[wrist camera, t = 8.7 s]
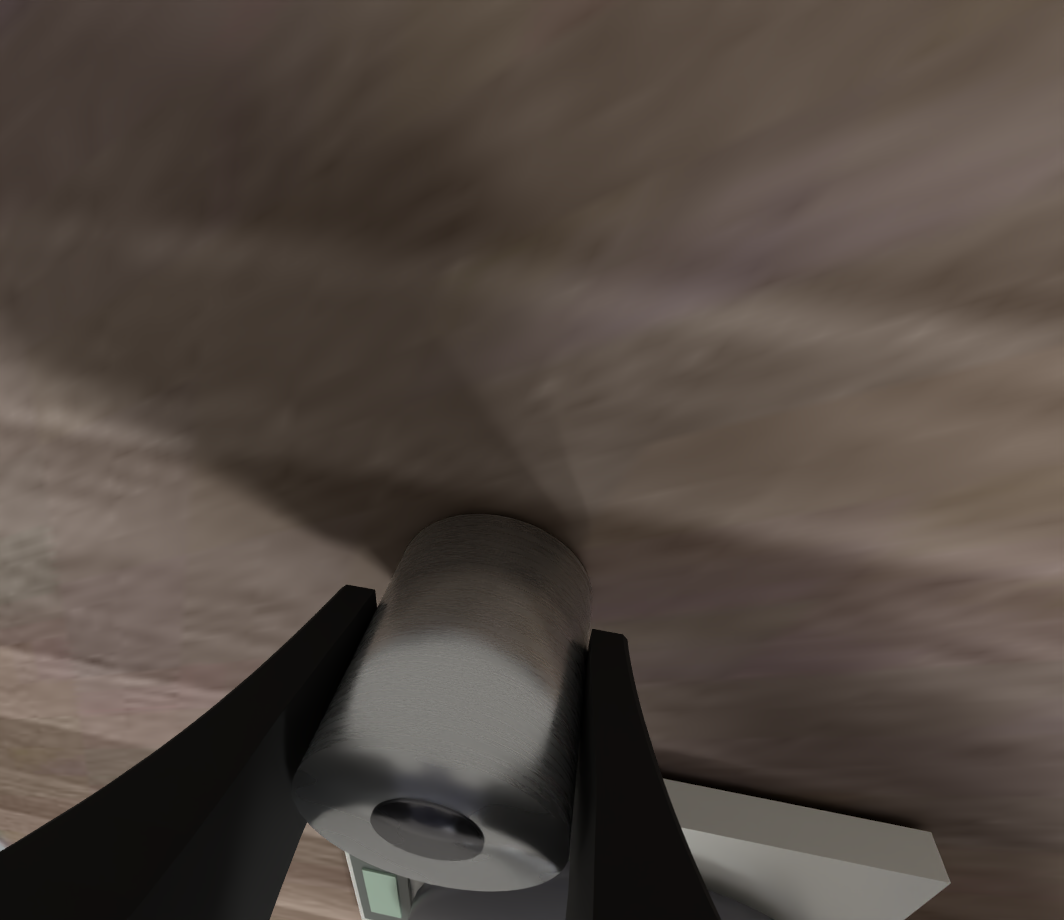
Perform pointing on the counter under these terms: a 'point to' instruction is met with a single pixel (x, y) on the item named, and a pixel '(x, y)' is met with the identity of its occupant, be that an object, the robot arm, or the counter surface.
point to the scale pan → (529, 903)
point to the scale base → (761, 861)
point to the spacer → (460, 713)
